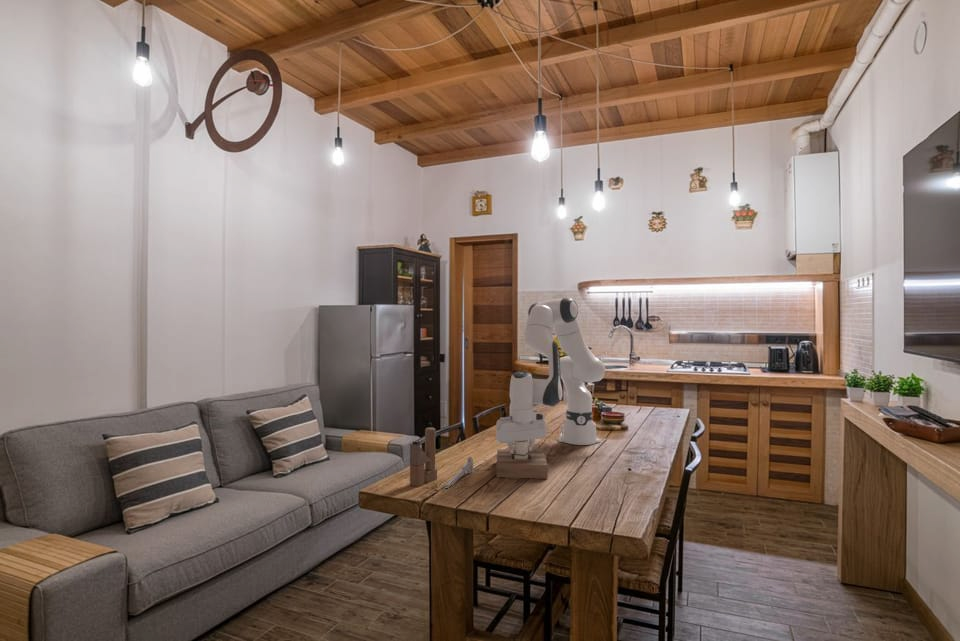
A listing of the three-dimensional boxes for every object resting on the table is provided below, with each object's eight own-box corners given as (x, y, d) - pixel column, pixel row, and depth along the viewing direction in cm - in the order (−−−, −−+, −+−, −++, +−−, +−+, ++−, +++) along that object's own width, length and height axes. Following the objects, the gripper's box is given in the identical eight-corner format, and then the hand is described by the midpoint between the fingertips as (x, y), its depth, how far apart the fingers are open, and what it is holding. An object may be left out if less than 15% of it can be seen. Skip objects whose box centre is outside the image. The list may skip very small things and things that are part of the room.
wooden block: (409, 485, 173) (409, 432, 173) (429, 477, 182) (429, 426, 182) (418, 487, 171) (418, 433, 171) (437, 478, 180) (437, 427, 180)
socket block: (497, 461, 201) (497, 449, 201) (543, 462, 200) (543, 450, 200) (496, 478, 181) (496, 463, 181) (547, 479, 180) (547, 464, 180)
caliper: (470, 472, 188) (470, 455, 188) (473, 473, 187) (473, 456, 187) (444, 489, 169) (444, 470, 169) (447, 490, 169) (447, 471, 169)
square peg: (517, 465, 193) (518, 439, 193) (528, 466, 192) (528, 440, 191) (514, 468, 190) (514, 441, 189) (524, 469, 188) (524, 442, 188)
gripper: (500, 419, 183) (500, 457, 183) (548, 414, 192) (548, 451, 192) (492, 416, 189) (492, 453, 189) (539, 411, 198) (539, 447, 198)
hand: (521, 452), depth 191 cm, fingers closed on square peg, 5 cm apart
